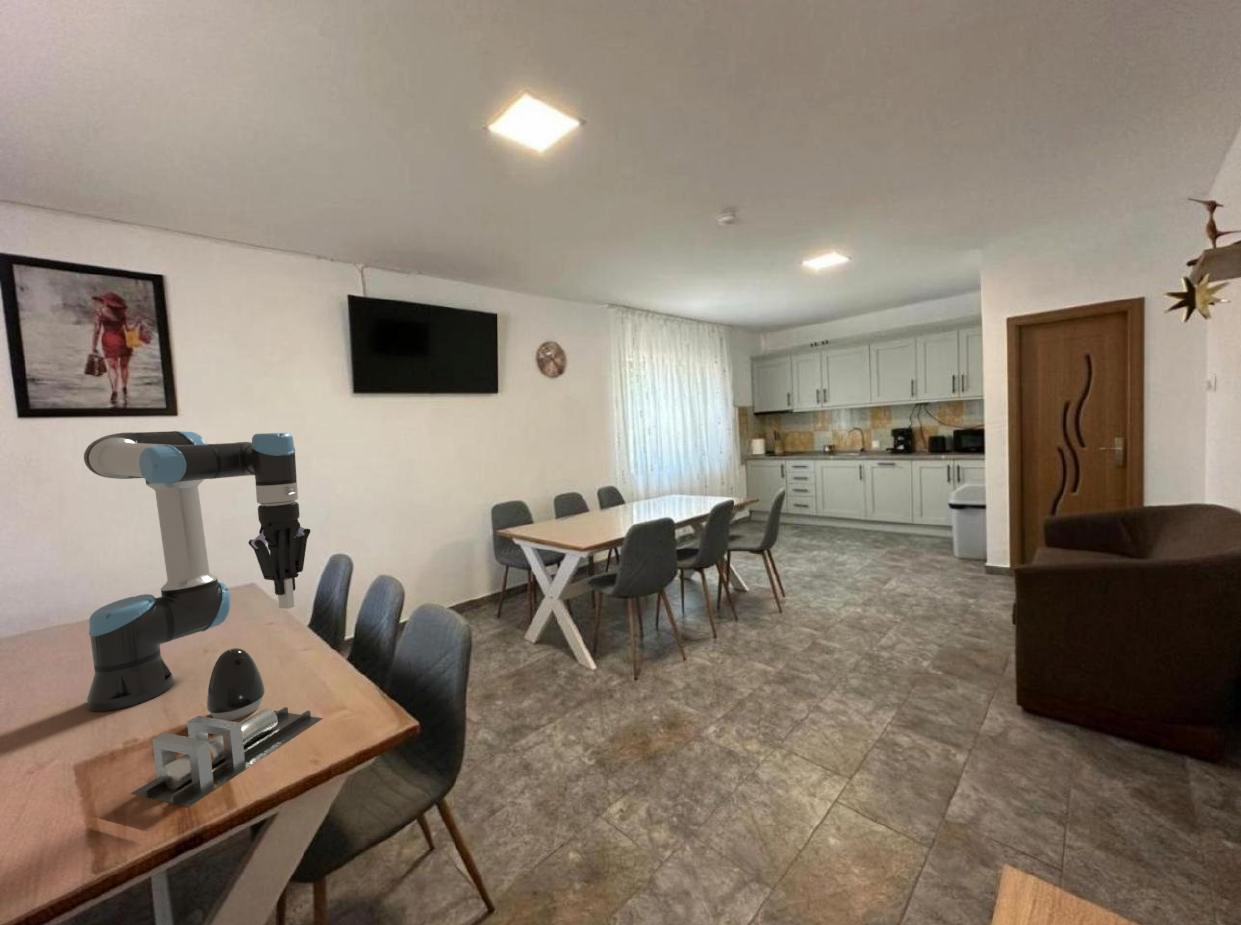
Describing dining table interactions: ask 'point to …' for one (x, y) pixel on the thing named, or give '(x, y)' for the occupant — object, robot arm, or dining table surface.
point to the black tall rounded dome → (234, 686)
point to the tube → (219, 748)
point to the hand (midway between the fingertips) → (286, 607)
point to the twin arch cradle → (200, 757)
